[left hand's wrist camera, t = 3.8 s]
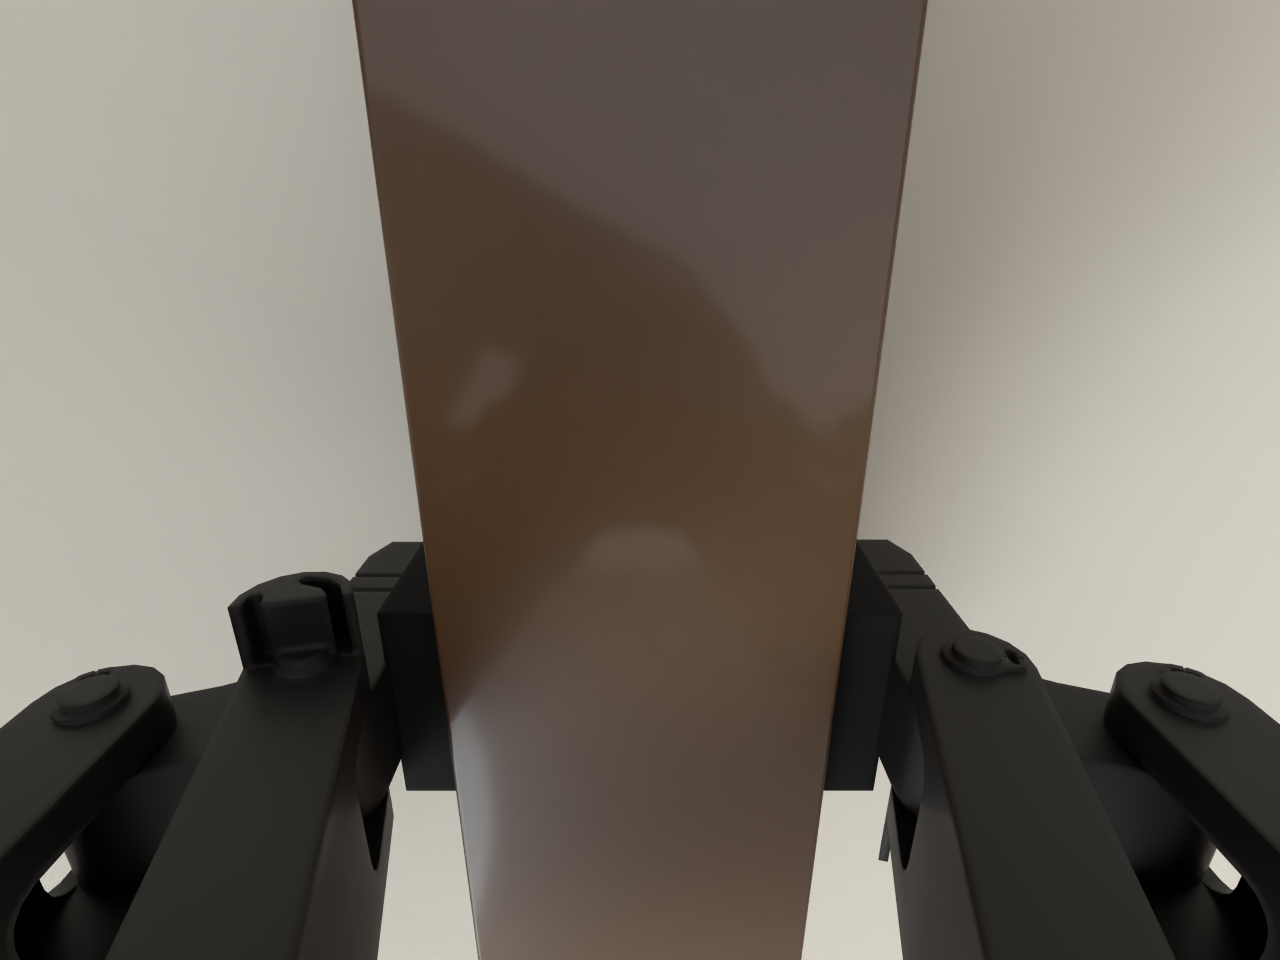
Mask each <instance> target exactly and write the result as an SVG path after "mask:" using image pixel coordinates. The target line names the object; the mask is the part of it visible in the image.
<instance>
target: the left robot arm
mask: <svg viewBox="0 0 1280 960" xmlns="http://www.w3.org/2000/svg"><path fill="white" fill-rule="evenodd" d="M228 611H229V615H230V619H231V623H232V627H233V630H234V634H235V638H236V642H237V646H238V650H239V653H240V657H241V661H242V665H243V671H242V673H241V675H240V677H239V679H238V681H237V682H236V683H232V684H228V685H224V686H219V687H214V688H209V689H204V690H199V691H194V692H189V693H184V694H179V695H174V696H170V693H169V690H168V687H167V684H166V680H165V677H164V675H163V674H161V673H160V672H159V671H157V670H156V669H155V668H153V667H146V666H140V665H129V666H119V667H109V668H104V669H99V670H98V671H96V672H95V671H92V672H89V673H86V674H83V675H80V676H78V677H77V678H75V679H73V680H71V681H69V682H66V683H64V684H62V685H60V686H57V687H55V688H54V689H52V690H51V691H49V692H48V693H46V694H45V695H43V696H42V697H40V698H39V699H37V700H35V701H34V702H32V703H31V704H30V705H29V706H27V707H26V708H25V709H24V710H23V711H21V712H20V713H19V714H18V715H16V716H15V717H14V718H13V719H11V720H10V721H9V722H8V723H7V724H5V725H4V726H3V727H2V728H0V960H377V956H378V947H379V939H380V930H381V921H382V913H383V904H384V896H385V887H386V878H387V870H388V861H389V852H390V844H391V835H392V826H393V818H394V815H393V809H392V802H391V797H390V791H389V785H390V783H391V781H392V778H393V776H394V774H395V772H396V769H397V767H398V765H399V762H400V760H401V761H402V767H403V773H404V779H405V785H406V791H456V786H455V778H454V771H453V763H452V755H451V748H450V740H449V733H448V725H447V717H446V710H445V702H444V695H443V687H442V680H441V672H440V664H439V657H438V649H437V642H436V634H435V626H434V619H433V611H432V604H431V596H430V588H429V581H428V573H427V566H426V558H425V550H424V543H423V542H392V543H390V544H389V545H387V546H385V547H384V548H382V549H380V550H379V551H377V552H376V553H374V554H372V555H371V556H369V557H368V558H367V560H366V561H365V562H364V564H363V565H362V566H361V568H360V569H359V570H358V571H357V573H356V577H353V578H352V579H351V580H350V581H349V580H347V579H346V578H345V577H343V576H342V575H338V574H333V573H328V572H303V573H297V574H292V575H287V576H281V577H278V578H275V579H273V580H270V581H267V582H264V583H261V584H259V585H257V586H255V587H253V588H251V589H250V590H248V591H246V592H244V593H243V594H241V595H239V596H238V597H237V598H236V599H235V600H234V602H233V603H232V604H231V605H230V606H229V607H228ZM879 757H880V760H881V762H882V764H883V767H884V769H885V771H886V773H887V776H888V778H889V780H890V783H891V791H890V797H889V802H888V808H887V813H886V819H885V824H884V830H883V835H882V841H881V847H880V853H879V860H881V861H886V862H888V857H889V852H890V851H891V859H892V868H893V876H894V885H895V894H896V902H897V911H898V920H899V928H900V937H901V946H902V954H903V960H1280V724H1279V723H1277V722H1276V721H1275V720H1274V719H1272V718H1271V717H1270V716H1269V715H1267V714H1266V713H1265V712H1264V711H1263V710H1261V709H1260V708H1259V707H1258V706H1256V705H1255V704H1254V703H1253V702H1251V701H1250V700H1249V699H1247V698H1246V697H1244V696H1243V695H1241V694H1240V693H1238V692H1237V691H1235V690H1234V689H1232V688H1230V687H1229V686H1227V685H1226V684H1224V683H1222V682H1219V681H1217V680H1215V679H1213V678H1210V677H1208V676H1206V675H1205V674H1203V673H1201V672H1199V671H1196V670H1193V669H1190V668H1187V667H1186V669H1185V668H1183V666H1178V665H1173V664H1163V663H1154V662H1140V663H1133V664H1127V665H1125V666H1124V667H1123V668H1121V669H1120V670H1119V671H1118V672H1116V676H1115V679H1114V682H1113V685H1112V688H1111V691H1110V693H1107V692H1101V691H1096V690H1091V689H1086V688H1081V687H1076V686H1071V685H1066V684H1061V683H1056V682H1052V681H1048V680H1044V679H1042V678H1041V676H1040V674H1039V672H1038V670H1037V668H1036V667H1035V665H1034V664H1033V663H1032V662H1031V660H1030V659H1029V658H1028V657H1027V655H1026V654H1024V653H1023V652H1022V651H1020V650H1019V649H1017V648H1016V647H1014V646H1013V645H1011V644H1010V643H1008V642H1006V641H1003V640H1001V639H999V638H996V637H994V636H991V635H989V634H987V633H982V632H977V631H973V630H970V629H969V628H968V627H967V625H966V624H965V623H964V622H963V620H962V619H961V618H960V616H959V615H958V614H957V613H956V611H955V610H954V609H953V607H952V606H951V605H950V604H949V602H948V601H947V600H946V598H945V597H944V596H943V595H942V593H941V592H940V591H939V589H936V588H935V584H934V583H933V582H932V581H931V579H930V578H929V577H928V575H925V574H924V570H923V569H922V568H921V566H920V565H919V564H918V563H917V561H916V560H915V559H914V557H913V556H912V555H911V554H910V553H908V552H906V551H905V550H903V549H902V548H900V547H898V546H897V545H895V544H893V543H892V542H890V541H889V540H857V541H856V548H855V556H854V564H853V571H852V579H851V586H850V594H849V601H848V609H847V616H846V624H845V632H844V639H843V647H842V654H841V662H840V669H839V677H838V685H837V692H836V700H835V707H834V715H833V722H832V730H831V737H830V745H829V753H828V760H827V768H826V775H825V783H824V790H823V791H873V789H874V783H875V777H876V771H877V765H878V759H879ZM1216 848H1217V849H1218V850H1219V851H1220V852H1221V853H1222V854H1223V856H1224V857H1225V858H1226V859H1227V860H1228V861H1229V862H1230V863H1231V864H1232V865H1233V867H1234V868H1235V869H1236V870H1237V871H1238V872H1239V873H1240V874H1241V875H1242V876H1241V878H1240V881H1239V883H1238V885H1237V887H1236V888H1235V889H1234V890H1231V889H1230V888H1229V887H1228V886H1227V885H1226V884H1224V883H1223V882H1222V881H1221V880H1220V879H1219V878H1218V877H1217V875H1216V874H1215V873H1214V872H1213V871H1212V870H1211V868H1210V867H1209V865H1210V862H1211V860H1212V858H1213V855H1214V853H1215V851H1216ZM63 852H65V854H66V857H67V859H68V861H69V864H70V866H71V868H72V870H71V871H70V872H69V873H68V874H67V876H66V877H65V878H64V879H63V880H62V881H61V883H59V884H58V885H57V886H56V887H55V888H53V889H52V890H51V891H50V892H49V893H47V892H46V891H45V890H44V888H43V886H42V884H41V882H40V880H39V879H40V878H41V877H42V876H43V875H44V874H45V873H46V871H47V870H48V869H49V868H50V867H51V866H52V865H53V864H54V862H55V861H56V860H57V859H58V858H59V857H60V856H61V855H62V854H63Z"/></svg>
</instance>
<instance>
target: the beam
mask: <svg viewBox="0 0 1280 960" xmlns="http://www.w3.org/2000/svg"><path fill="white" fill-rule="evenodd" d="M352 4H353V11H354V19H355V27H356V34H357V42H358V49H359V57H360V64H361V72H362V80H363V87H364V95H365V102H366V110H367V118H368V125H369V133H370V140H371V148H372V156H373V163H374V171H375V178H376V186H377V194H378V201H379V209H380V216H381V224H382V232H383V239H384V247H385V254H386V262H387V270H388V277H389V285H390V292H391V300H392V307H393V315H394V323H395V330H396V338H397V345H398V353H399V361H400V368H401V376H402V383H403V391H404V399H405V406H406V414H407V421H408V429H409V437H410V444H411V452H412V459H413V467H414V475H415V482H416V490H417V497H418V505H419V512H420V520H421V528H422V535H423V543H424V550H425V558H426V566H427V573H428V581H429V588H430V596H431V604H432V611H433V619H434V626H435V634H436V642H437V649H438V657H439V664H440V672H441V680H442V687H443V695H444V702H445V710H446V717H447V725H448V733H449V740H450V748H451V755H452V763H453V771H454V778H455V786H456V793H457V801H458V809H459V816H460V824H461V831H462V839H463V847H464V854H465V862H466V869H467V877H468V885H469V892H470V900H471V907H472V915H473V923H474V930H475V938H476V945H477V953H478V960H801V957H802V949H803V942H804V934H805V927H806V919H807V911H808V904H809V896H810V889H811V881H812V874H813V866H814V858H815V851H816V843H817V836H818V828H819V821H820V813H821V806H822V798H823V790H824V783H825V775H826V768H827V760H828V753H829V745H830V737H831V730H832V722H833V715H834V707H835V700H836V692H837V685H838V677H839V669H840V662H841V654H842V647H843V639H844V632H845V624H846V616H847V609H848V601H849V594H850V586H851V579H852V571H853V564H854V556H855V548H856V541H857V533H858V526H859V518H860V511H861V503H862V495H863V488H864V480H865V473H866V465H867V458H868V450H869V443H870V435H871V427H872V420H873V412H874V405H875V397H876V390H877V382H878V374H879V367H880V359H881V352H882V344H883V337H884V329H885V322H886V314H887V306H888V299H889V291H890V284H891V276H892V269H893V261H894V253H895V246H896V238H897V231H898V223H899V216H900V208H901V201H902V193H903V185H904V178H905V170H906V163H907V155H908V148H909V140H910V132H911V125H912V117H913V110H914V102H915V95H916V87H917V80H918V72H919V64H920V57H921V49H922V42H923V34H924V27H925V19H926V11H927V4H928V0H352Z"/></svg>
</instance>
